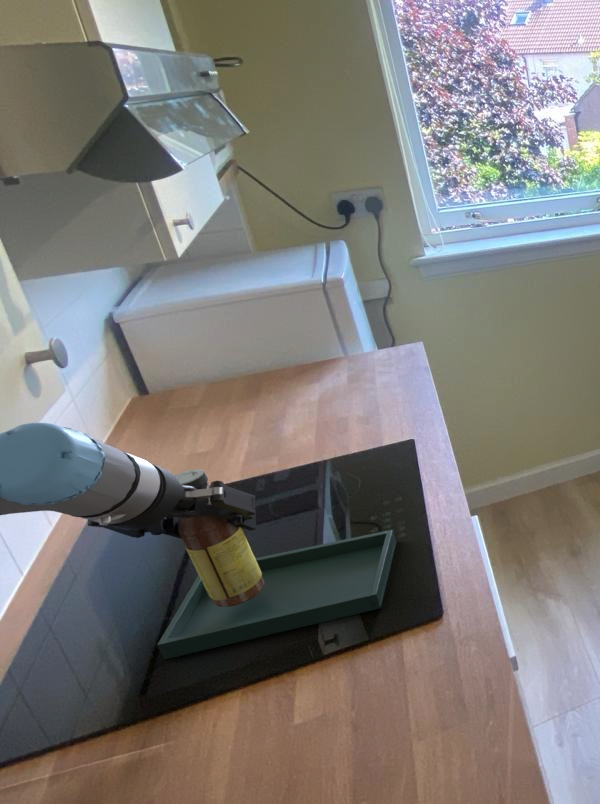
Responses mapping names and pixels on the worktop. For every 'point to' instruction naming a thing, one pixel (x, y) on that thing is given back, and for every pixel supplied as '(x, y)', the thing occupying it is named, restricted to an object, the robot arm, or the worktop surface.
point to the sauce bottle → (219, 552)
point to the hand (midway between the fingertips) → (224, 525)
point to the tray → (288, 595)
